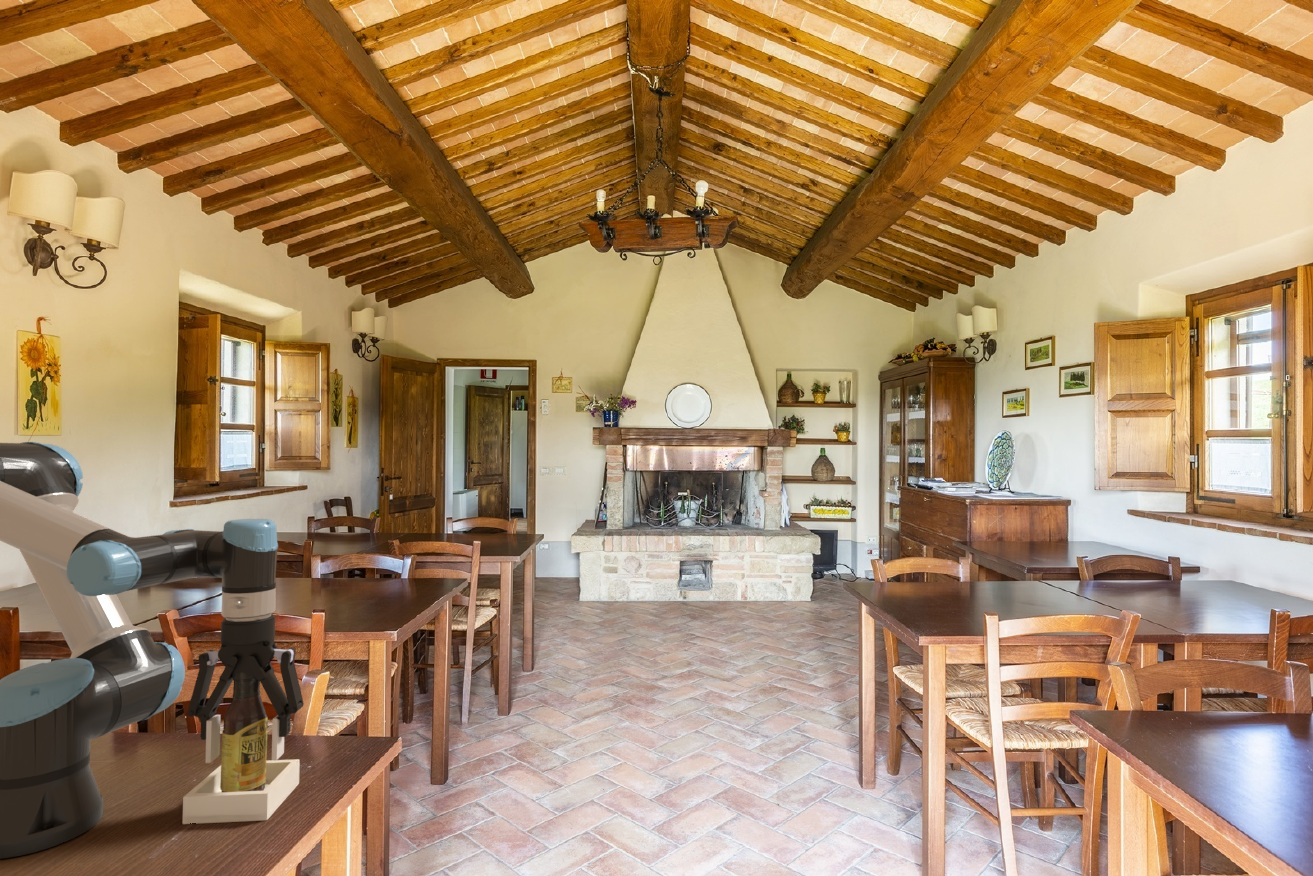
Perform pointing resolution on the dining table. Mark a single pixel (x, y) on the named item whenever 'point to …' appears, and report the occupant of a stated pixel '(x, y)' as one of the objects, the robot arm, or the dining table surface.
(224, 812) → the square white tray
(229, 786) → the sauce bottle
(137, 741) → the dining table surface
